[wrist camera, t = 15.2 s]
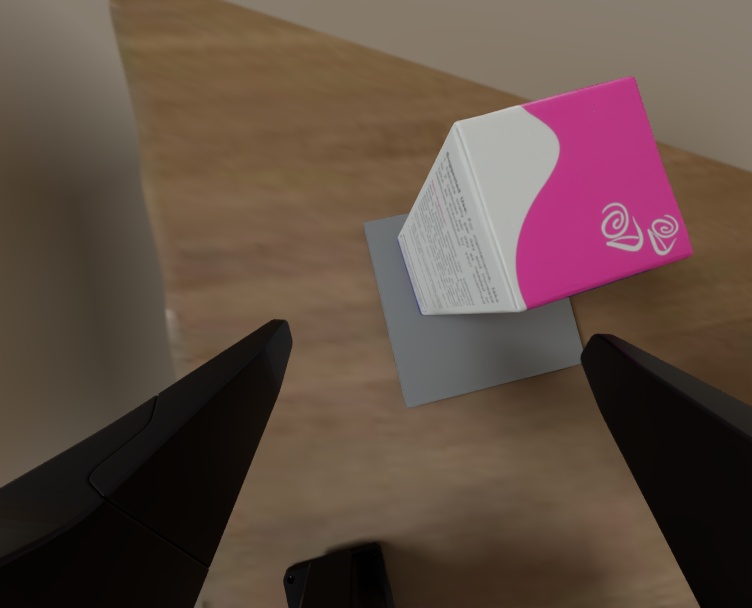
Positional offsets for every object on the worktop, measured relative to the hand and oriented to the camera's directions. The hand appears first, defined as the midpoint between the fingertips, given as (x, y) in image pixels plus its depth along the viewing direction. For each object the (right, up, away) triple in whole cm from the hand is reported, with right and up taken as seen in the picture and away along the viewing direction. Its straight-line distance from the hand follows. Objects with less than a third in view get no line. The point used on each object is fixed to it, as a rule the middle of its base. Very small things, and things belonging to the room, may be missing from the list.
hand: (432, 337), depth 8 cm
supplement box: (+3, +4, +11) cm, 12 cm away
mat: (+5, +2, +11) cm, 13 cm away
